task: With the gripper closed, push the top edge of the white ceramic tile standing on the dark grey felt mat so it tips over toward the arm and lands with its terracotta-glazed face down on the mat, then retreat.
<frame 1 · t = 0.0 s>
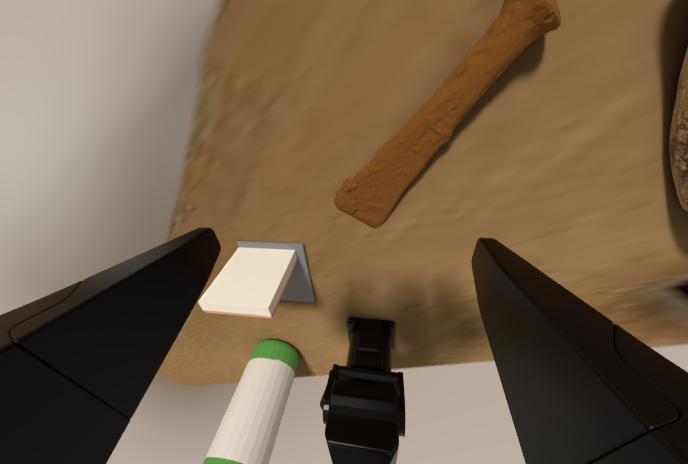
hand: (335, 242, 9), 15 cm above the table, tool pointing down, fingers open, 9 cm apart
mat: (279, 273, 32), on the table
tile: (268, 253, 30), resting on mat
primitive tool: (419, 139, 21), on the table
wine bottle: (279, 348, 45), on the table
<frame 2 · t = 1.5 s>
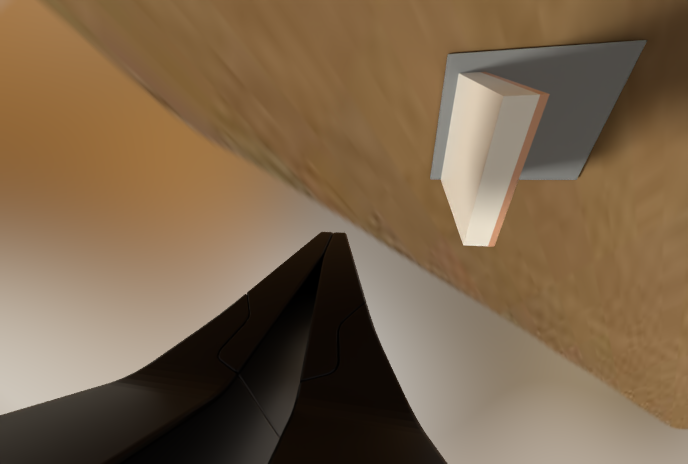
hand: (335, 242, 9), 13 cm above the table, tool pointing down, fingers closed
mat: (516, 121, 17), on the table
tile: (460, 132, 18), resting on mat
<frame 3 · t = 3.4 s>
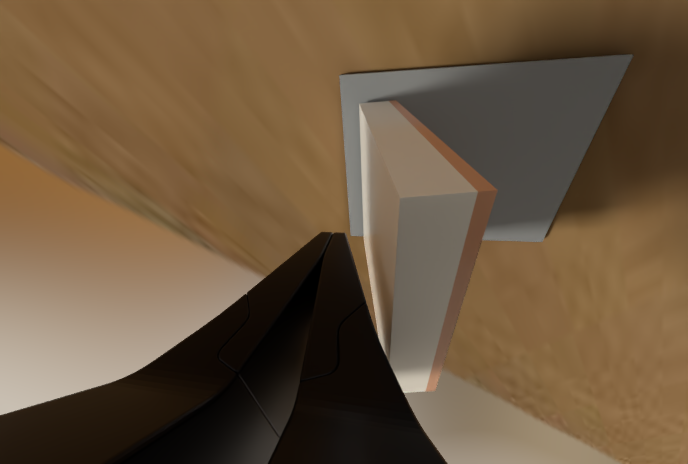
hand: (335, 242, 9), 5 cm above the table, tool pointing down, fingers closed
mat: (452, 167, 12), on the table
tile: (377, 181, 12), resting on mat, tilted 10°, touching gripper
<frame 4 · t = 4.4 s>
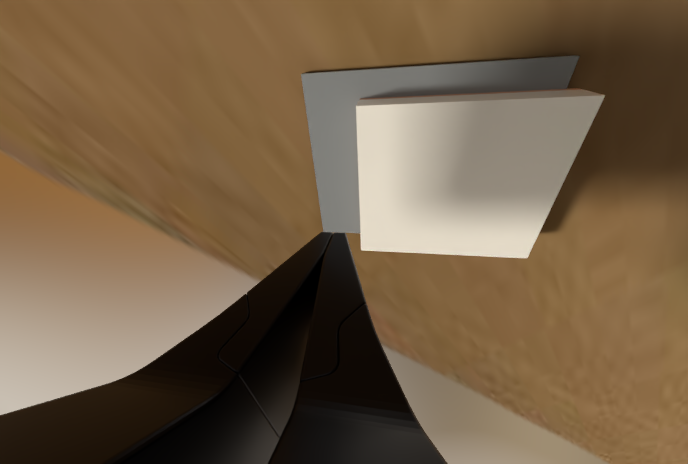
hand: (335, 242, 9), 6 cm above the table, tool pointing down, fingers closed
mat: (417, 164, 12), on the table
tile: (360, 183, 12), point 1 cm above the table, tilted 90°, touching mat
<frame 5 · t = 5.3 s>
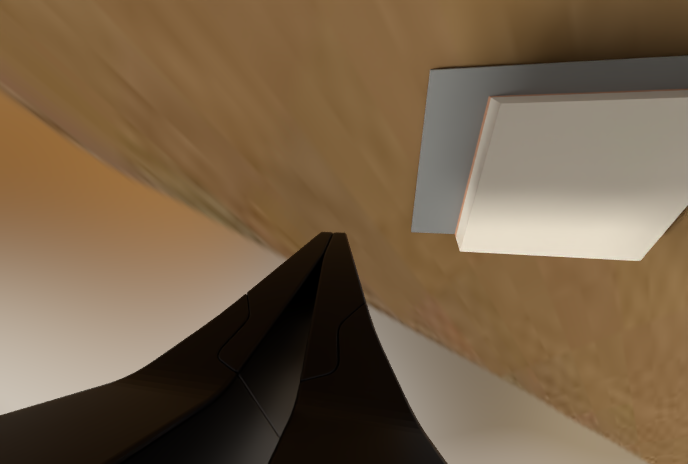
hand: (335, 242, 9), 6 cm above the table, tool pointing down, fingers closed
mat: (529, 164, 12), on the table
tile: (472, 183, 12), point 1 cm above the table, tilted 90°, touching mat
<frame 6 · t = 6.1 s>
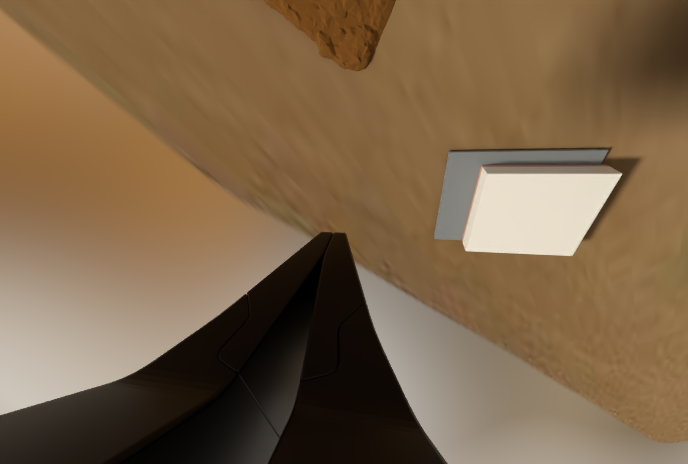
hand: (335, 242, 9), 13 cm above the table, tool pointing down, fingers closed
mat: (506, 199, 20), on the table
tile: (472, 211, 20), point 1 cm above the table, tilted 90°, touching mat
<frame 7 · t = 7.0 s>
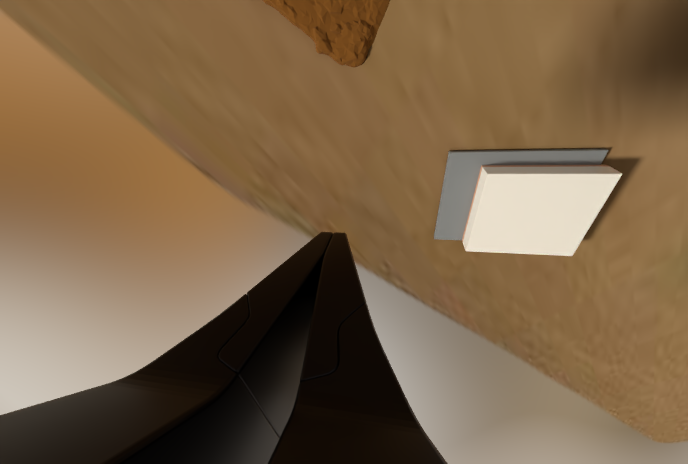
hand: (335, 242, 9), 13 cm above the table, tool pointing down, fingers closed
mat: (506, 199, 20), on the table
tile: (472, 211, 20), point 1 cm above the table, tilted 90°, touching mat
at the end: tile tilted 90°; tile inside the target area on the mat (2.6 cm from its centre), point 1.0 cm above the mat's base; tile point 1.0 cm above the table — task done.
